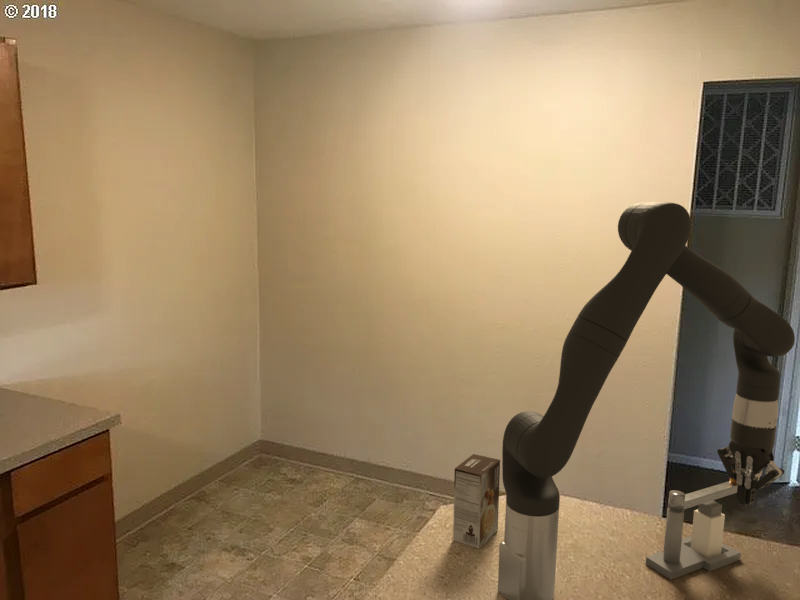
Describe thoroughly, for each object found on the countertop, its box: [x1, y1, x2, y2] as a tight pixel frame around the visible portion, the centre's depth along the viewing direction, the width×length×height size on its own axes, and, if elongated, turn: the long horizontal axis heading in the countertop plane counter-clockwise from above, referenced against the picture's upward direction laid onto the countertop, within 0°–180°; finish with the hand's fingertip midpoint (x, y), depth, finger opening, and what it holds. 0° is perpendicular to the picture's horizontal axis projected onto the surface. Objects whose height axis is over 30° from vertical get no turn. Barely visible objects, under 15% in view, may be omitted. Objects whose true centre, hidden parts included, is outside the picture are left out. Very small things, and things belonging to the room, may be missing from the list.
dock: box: [645, 507, 742, 580], centre depth 133 cm, size 18×9×12 cm, turn 118°
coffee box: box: [452, 453, 501, 550], centre depth 141 cm, size 9×6×16 cm
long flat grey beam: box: [667, 477, 738, 512], centre depth 133 cm, size 19×3×4 cm, turn 118°
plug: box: [691, 500, 726, 558], centre depth 135 cm, size 4×4×11 cm
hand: (745, 503), depth 132 cm, fingers closed
